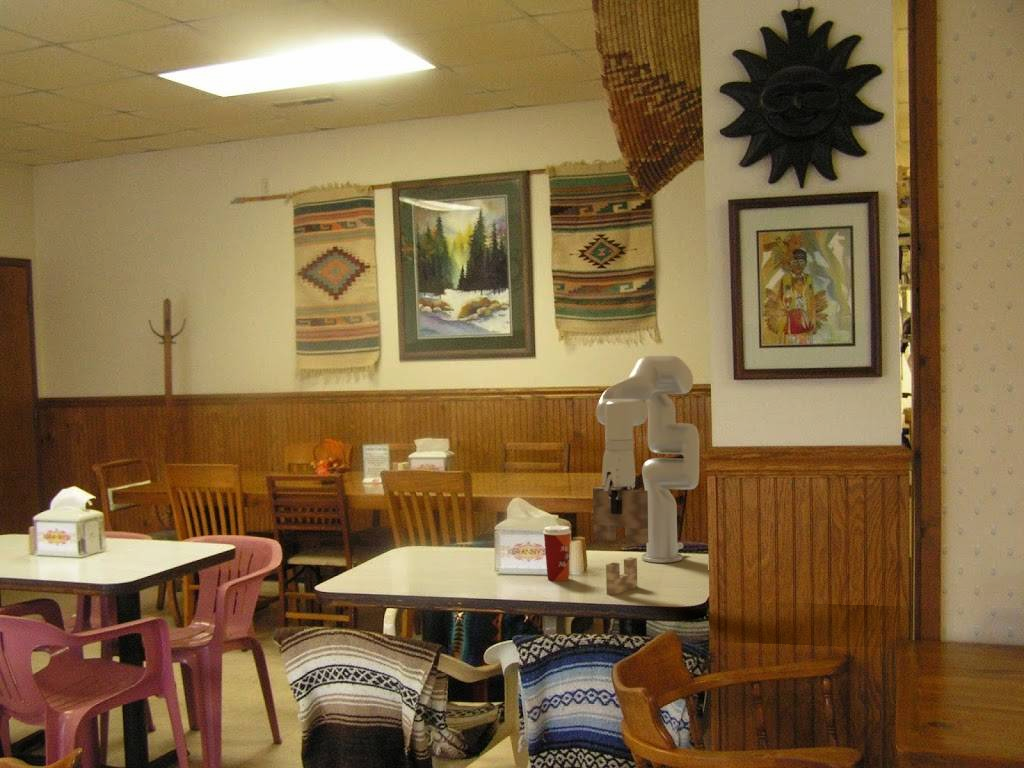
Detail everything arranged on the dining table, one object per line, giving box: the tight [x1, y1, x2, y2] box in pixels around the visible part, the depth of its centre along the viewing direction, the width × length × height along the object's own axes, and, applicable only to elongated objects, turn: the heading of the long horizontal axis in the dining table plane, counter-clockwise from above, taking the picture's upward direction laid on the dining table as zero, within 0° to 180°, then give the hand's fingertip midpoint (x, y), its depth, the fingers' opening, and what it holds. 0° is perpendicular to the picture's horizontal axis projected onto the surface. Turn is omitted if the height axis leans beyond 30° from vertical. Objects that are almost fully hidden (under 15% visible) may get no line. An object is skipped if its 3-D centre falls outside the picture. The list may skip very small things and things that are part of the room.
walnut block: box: [592, 486, 648, 545], centre depth 288 cm, size 16×3×14 cm, turn 50°
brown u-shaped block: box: [605, 556, 638, 596], centre depth 289 cm, size 12×2×8 cm, turn 140°
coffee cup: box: [542, 525, 572, 582], centre depth 305 cm, size 8×8×15 cm
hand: (620, 512), depth 288 cm, fingers closed on walnut block, 3 cm apart
